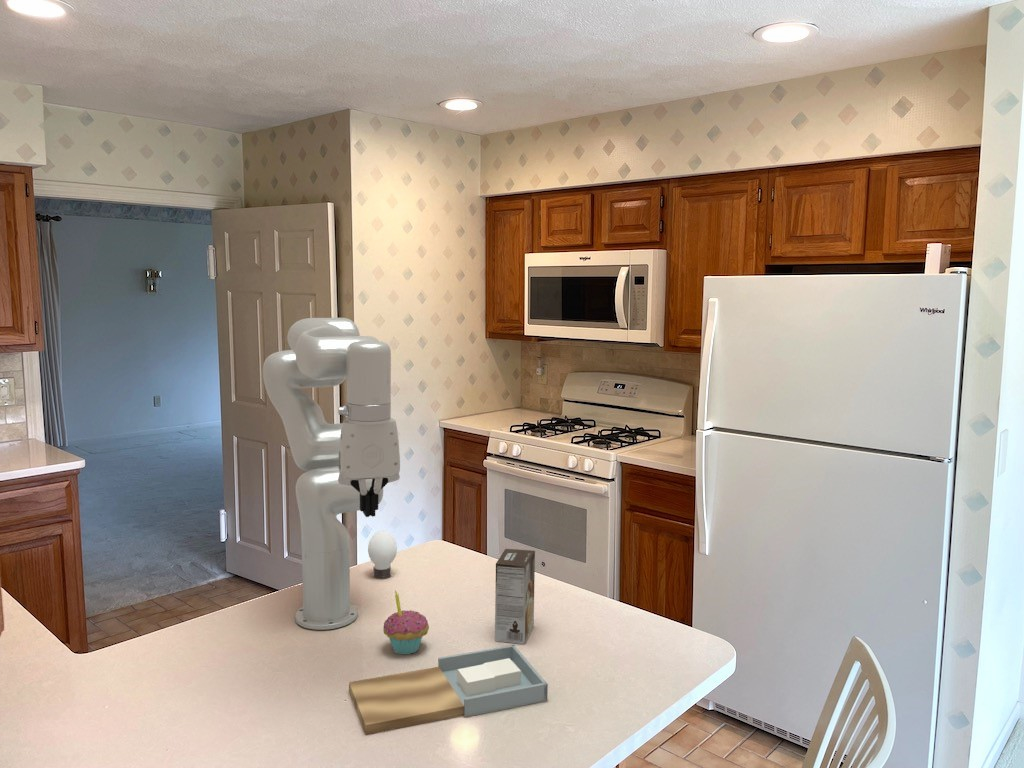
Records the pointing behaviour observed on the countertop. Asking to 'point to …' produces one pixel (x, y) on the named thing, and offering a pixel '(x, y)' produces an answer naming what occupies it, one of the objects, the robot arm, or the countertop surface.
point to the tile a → (476, 680)
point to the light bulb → (382, 553)
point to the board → (404, 700)
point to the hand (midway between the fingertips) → (369, 514)
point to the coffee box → (514, 596)
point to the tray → (502, 698)
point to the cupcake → (405, 629)
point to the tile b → (504, 673)
